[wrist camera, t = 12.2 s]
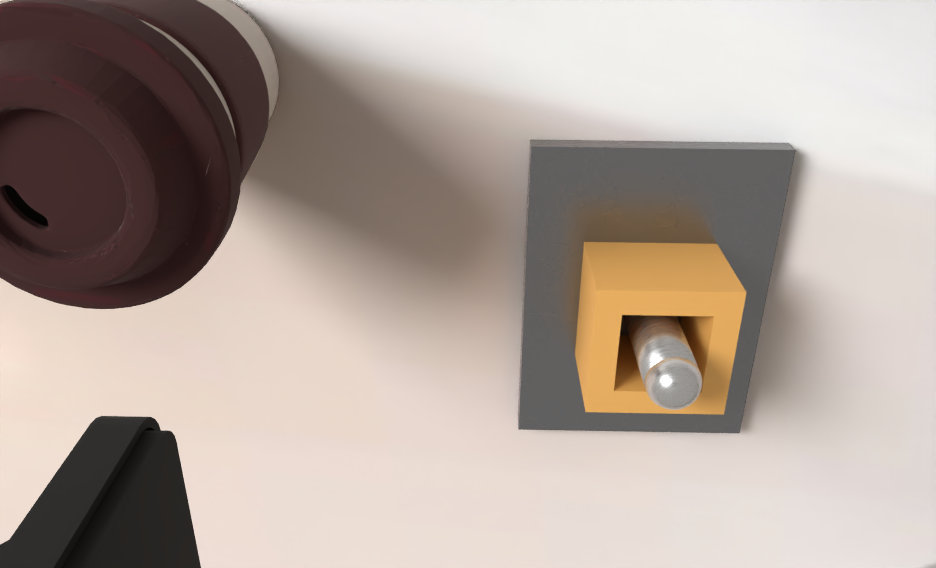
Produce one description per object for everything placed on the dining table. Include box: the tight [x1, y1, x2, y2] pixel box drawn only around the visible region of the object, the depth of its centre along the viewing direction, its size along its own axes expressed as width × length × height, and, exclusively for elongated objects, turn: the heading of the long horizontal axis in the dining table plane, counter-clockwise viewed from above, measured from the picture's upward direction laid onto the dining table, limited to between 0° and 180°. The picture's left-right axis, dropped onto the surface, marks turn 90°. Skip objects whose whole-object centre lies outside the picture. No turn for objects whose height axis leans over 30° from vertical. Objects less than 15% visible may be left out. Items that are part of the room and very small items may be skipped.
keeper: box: [518, 140, 795, 433], centre depth 38 cm, size 16×12×9 cm
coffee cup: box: [0, 0, 279, 309], centre depth 31 cm, size 10×10×15 cm
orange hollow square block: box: [575, 242, 747, 415], centre depth 39 cm, size 6×6×5 cm
